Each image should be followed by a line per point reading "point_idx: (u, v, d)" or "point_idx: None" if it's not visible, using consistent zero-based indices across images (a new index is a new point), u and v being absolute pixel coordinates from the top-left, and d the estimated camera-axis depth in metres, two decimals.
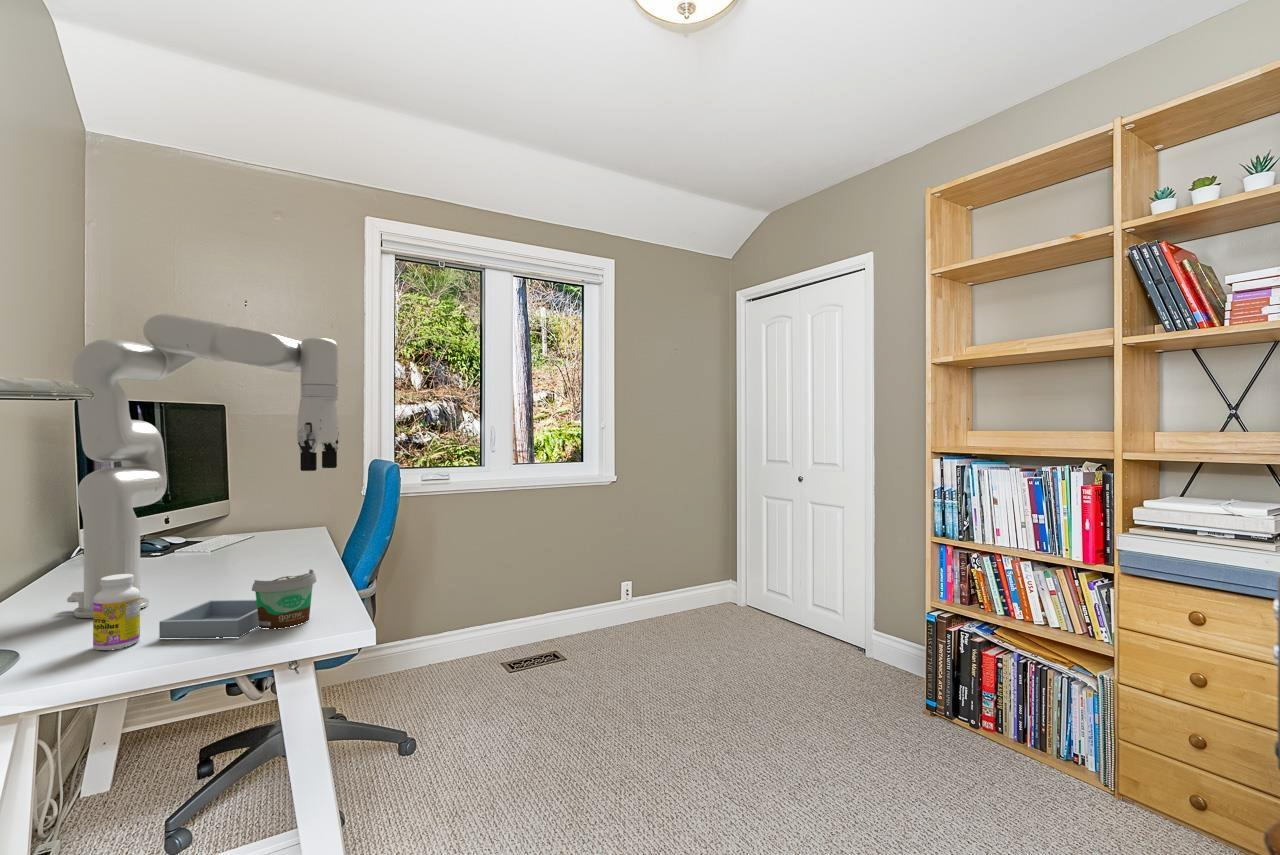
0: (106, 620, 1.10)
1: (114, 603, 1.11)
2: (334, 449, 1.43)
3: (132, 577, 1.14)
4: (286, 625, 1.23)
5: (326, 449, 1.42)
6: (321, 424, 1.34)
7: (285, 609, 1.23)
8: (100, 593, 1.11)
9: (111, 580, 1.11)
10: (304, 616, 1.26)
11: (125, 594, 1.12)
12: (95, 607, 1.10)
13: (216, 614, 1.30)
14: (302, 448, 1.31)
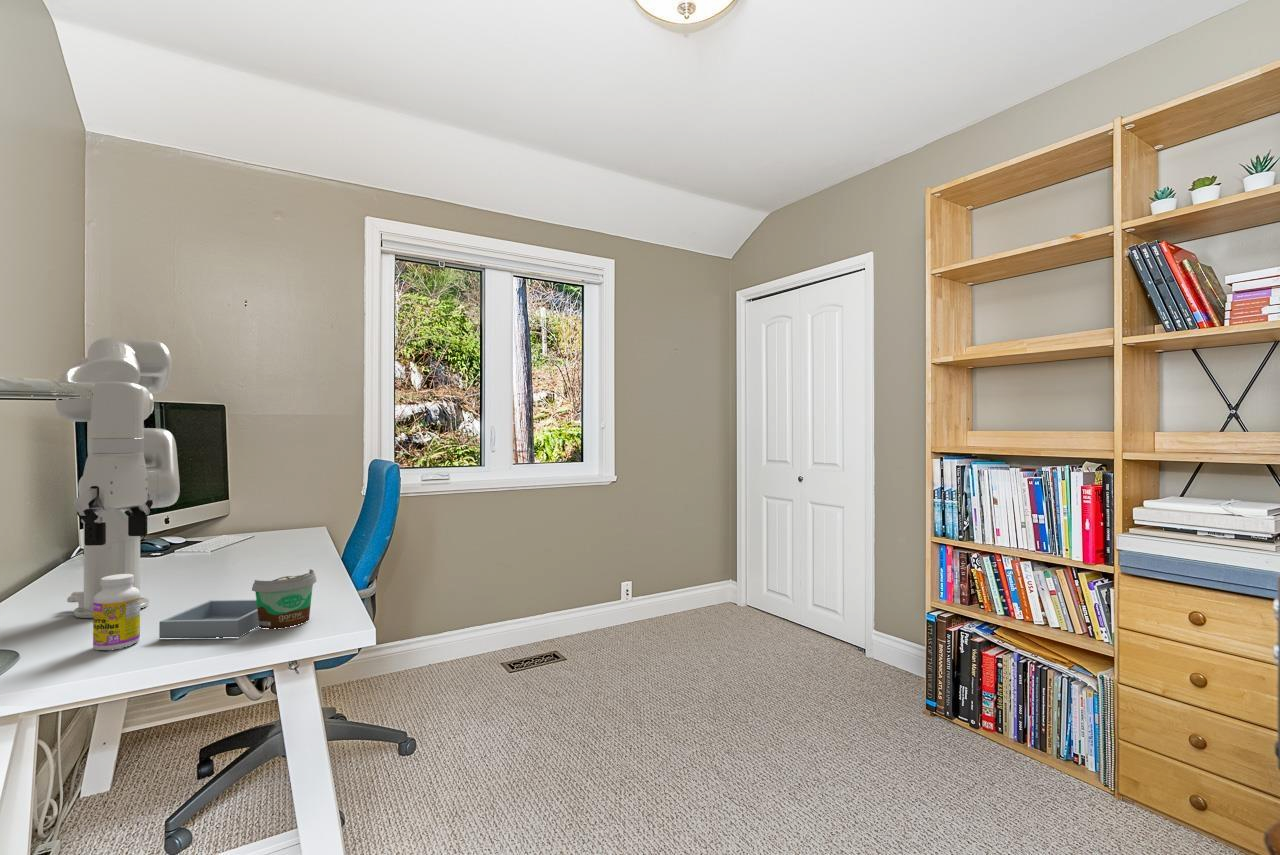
0: (106, 620, 1.10)
1: (114, 603, 1.11)
2: (144, 513, 1.18)
3: (132, 577, 1.14)
4: (286, 625, 1.23)
5: (133, 513, 1.18)
6: (113, 487, 1.10)
7: (285, 609, 1.23)
8: (100, 593, 1.11)
9: (111, 580, 1.11)
10: (304, 616, 1.26)
11: (125, 594, 1.12)
12: (95, 607, 1.10)
13: (216, 614, 1.30)
14: (84, 518, 1.07)
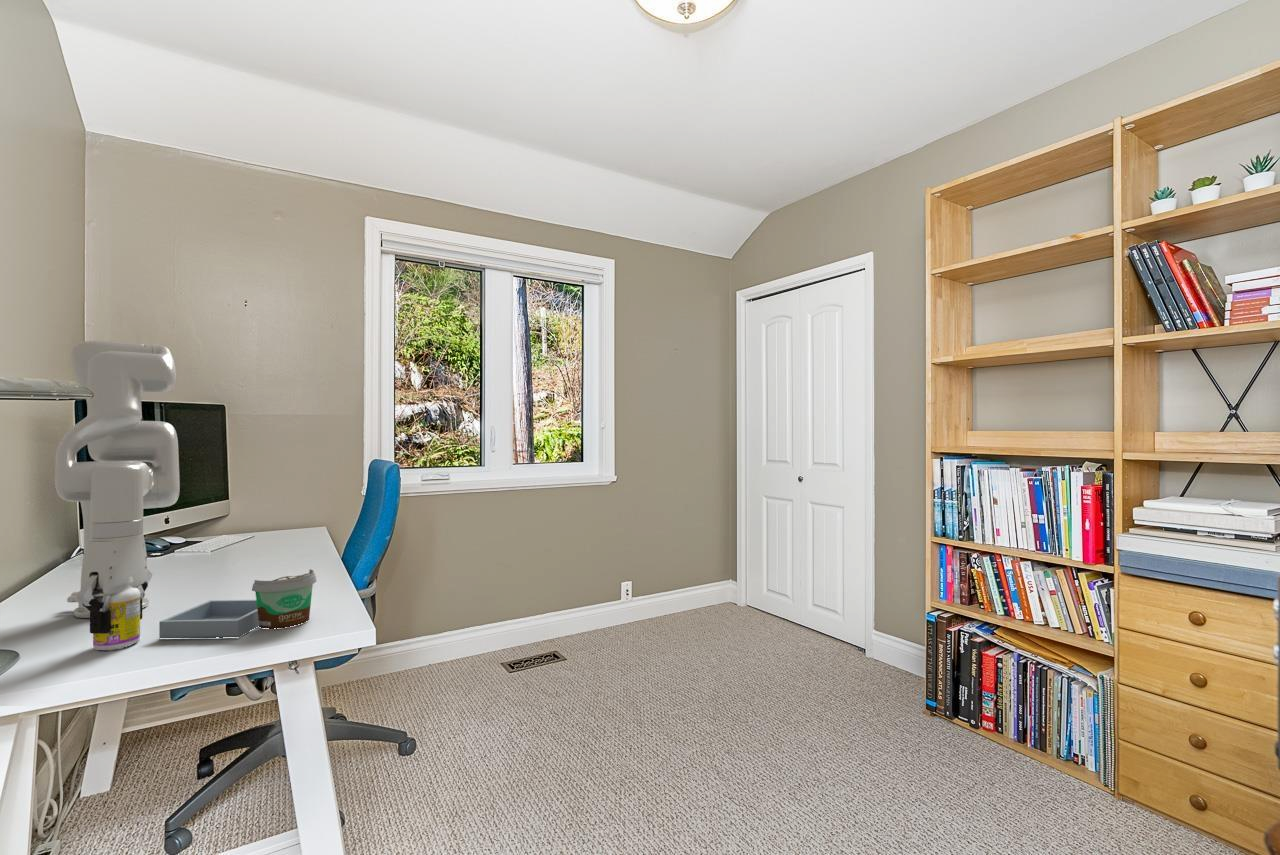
0: None
1: (114, 603, 1.11)
2: None
3: None
4: (286, 625, 1.23)
5: None
6: (112, 572, 1.10)
7: (285, 609, 1.23)
8: None
9: None
10: (304, 616, 1.26)
11: (125, 594, 1.12)
12: None
13: (216, 614, 1.30)
14: (89, 608, 1.08)
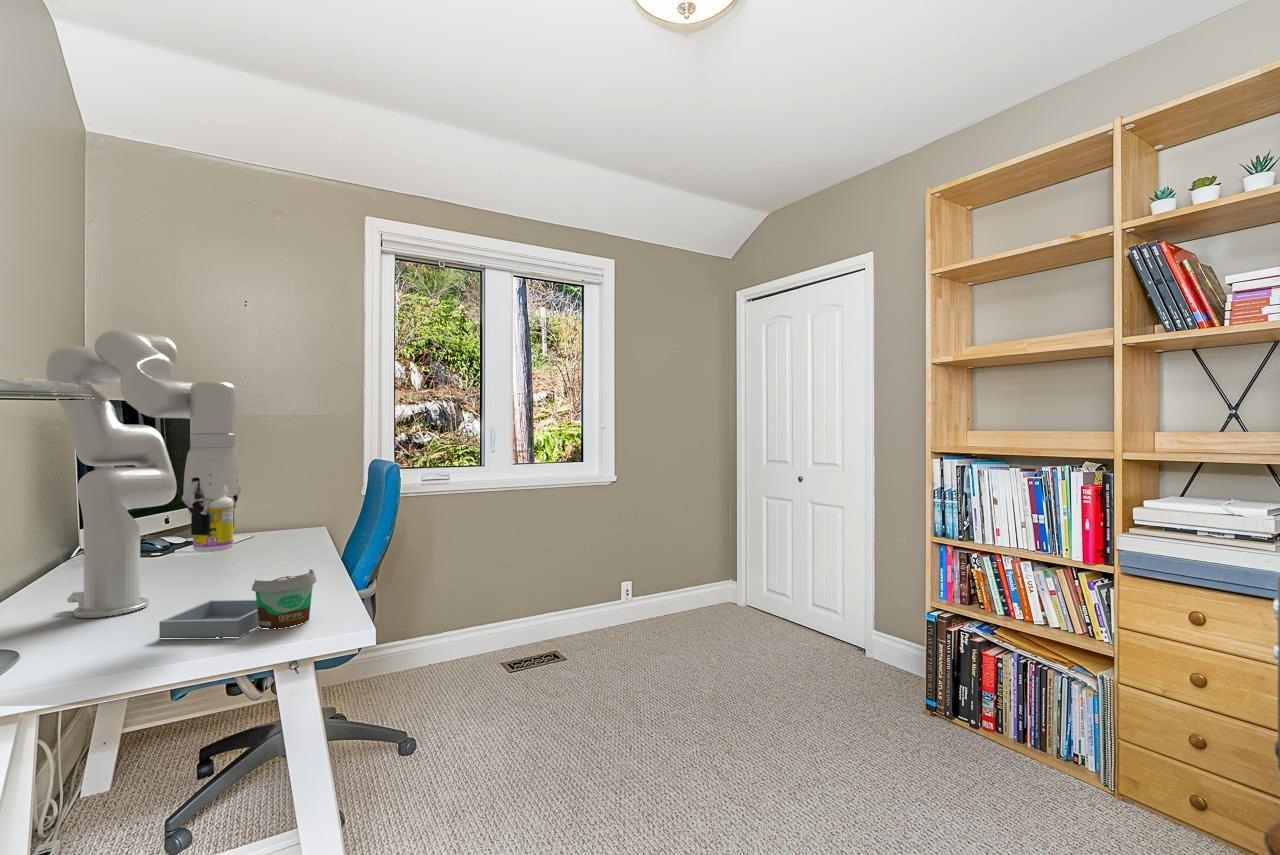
0: None
1: (212, 508, 1.20)
2: None
3: (226, 487, 1.24)
4: (286, 625, 1.23)
5: None
6: (211, 479, 1.19)
7: (285, 609, 1.23)
8: None
9: None
10: (304, 616, 1.26)
11: (221, 501, 1.21)
12: None
13: (216, 614, 1.30)
14: (191, 510, 1.17)
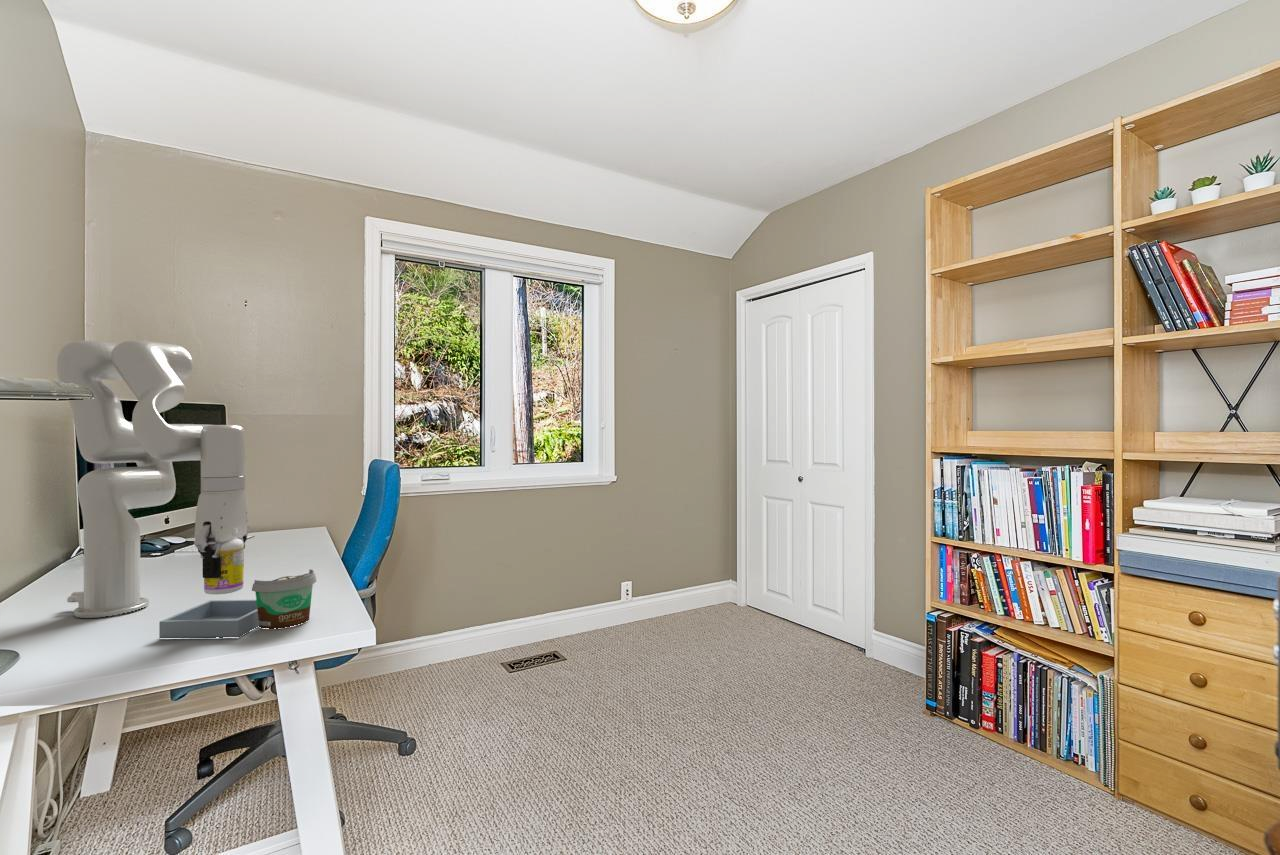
0: None
1: (224, 551, 1.21)
2: None
3: None
4: (286, 625, 1.23)
5: None
6: (222, 522, 1.20)
7: (285, 609, 1.23)
8: None
9: None
10: (304, 616, 1.26)
11: (232, 543, 1.23)
12: None
13: (216, 614, 1.30)
14: (203, 554, 1.18)
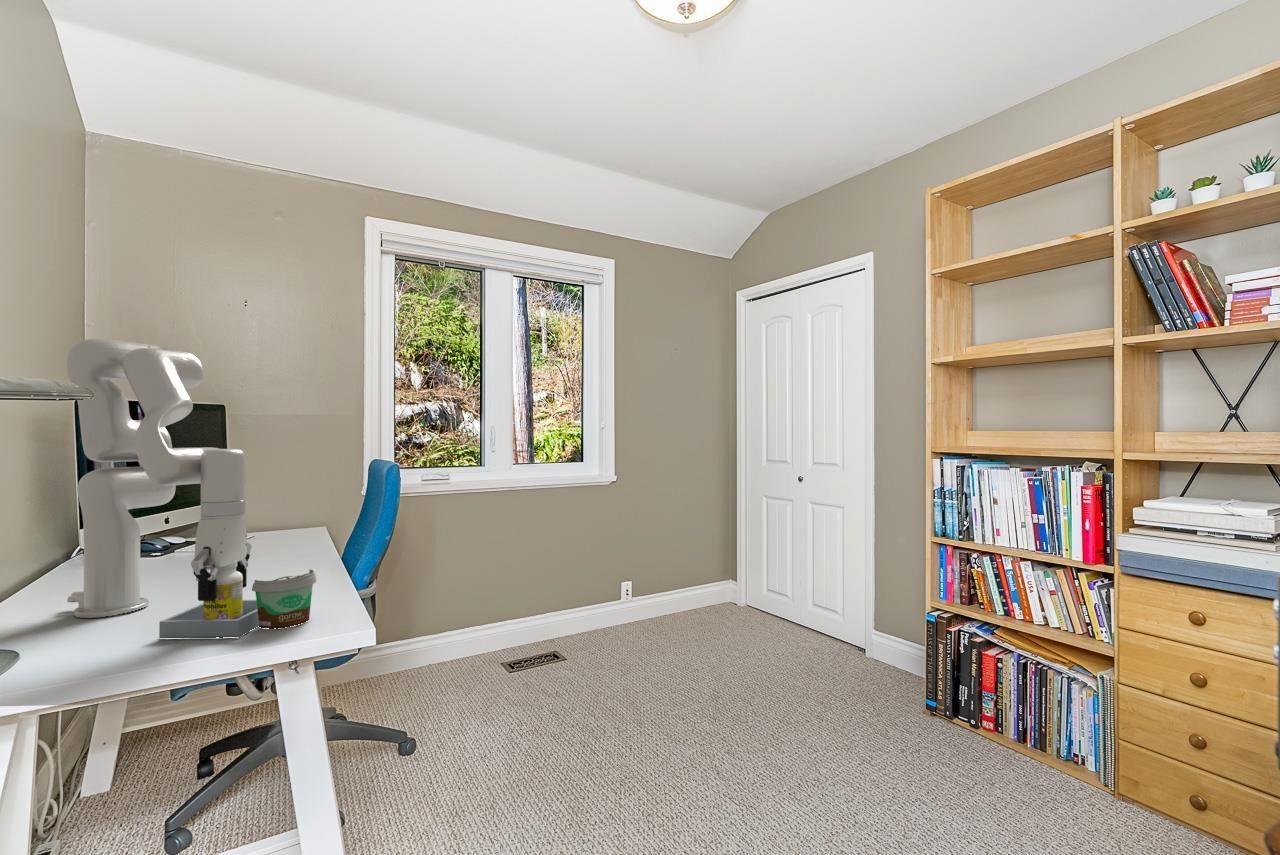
0: (216, 600, 1.21)
1: (223, 585, 1.21)
2: (243, 566, 1.29)
3: (236, 562, 1.25)
4: (286, 625, 1.23)
5: None
6: (222, 547, 1.20)
7: (285, 609, 1.23)
8: None
9: None
10: (304, 616, 1.26)
11: (231, 577, 1.23)
12: None
13: None
14: (198, 577, 1.17)
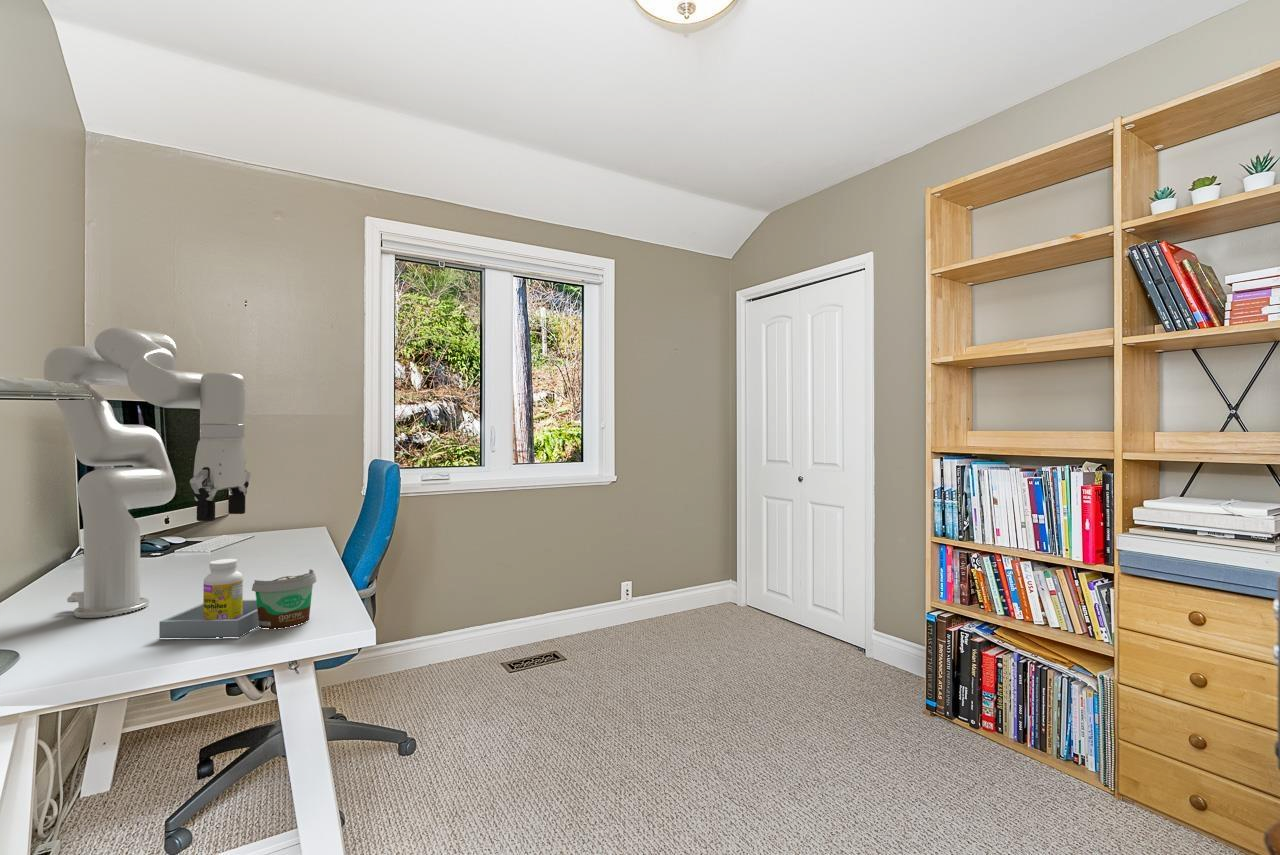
0: (216, 600, 1.21)
1: (223, 585, 1.22)
2: (242, 493, 1.29)
3: (236, 562, 1.25)
4: (286, 625, 1.23)
5: (233, 493, 1.29)
6: (221, 469, 1.21)
7: (285, 609, 1.23)
8: (209, 576, 1.22)
9: (219, 564, 1.22)
10: (304, 616, 1.26)
11: (231, 577, 1.23)
12: (206, 588, 1.21)
13: None
14: (197, 496, 1.18)
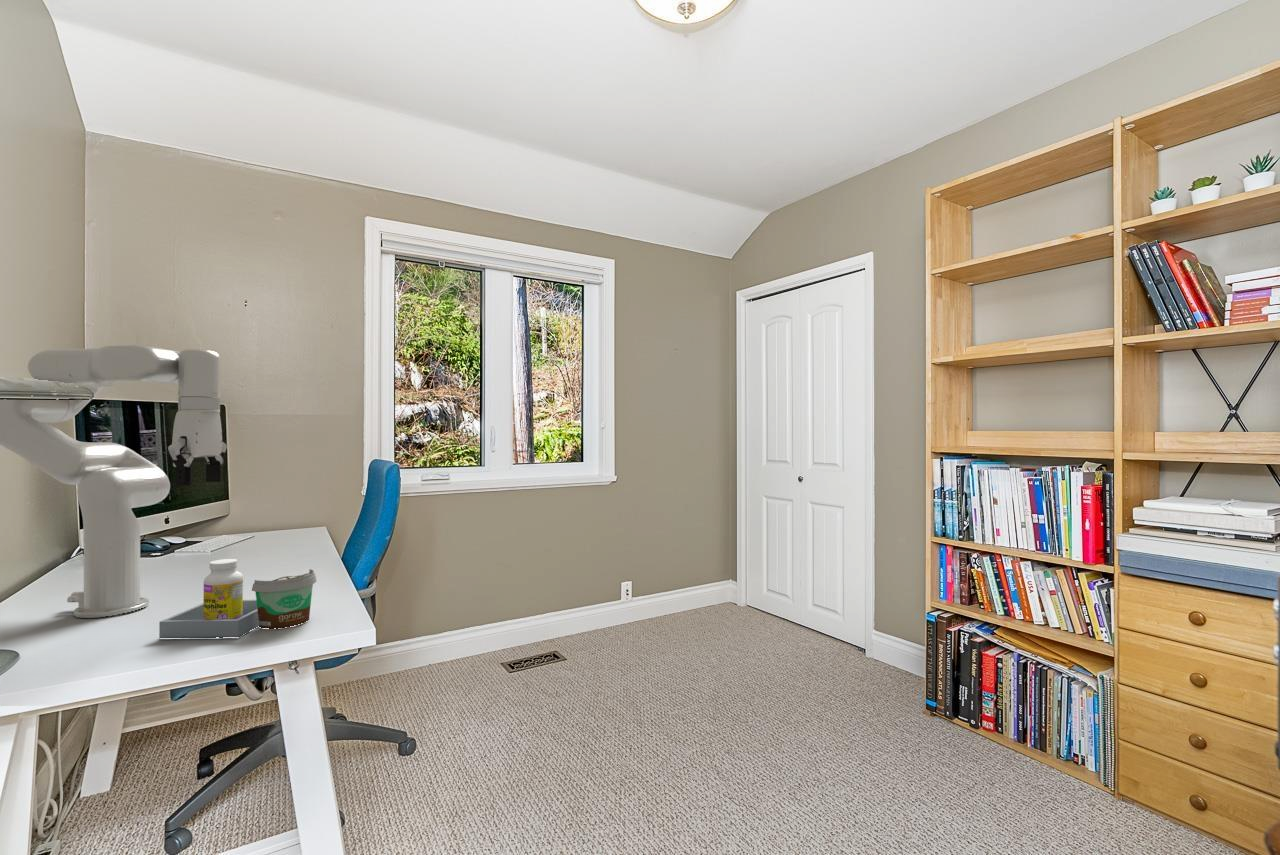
0: (216, 600, 1.21)
1: (223, 585, 1.21)
2: (219, 462, 1.40)
3: (236, 562, 1.25)
4: (286, 625, 1.23)
5: (210, 462, 1.39)
6: (198, 438, 1.31)
7: (285, 609, 1.23)
8: (210, 576, 1.22)
9: (220, 564, 1.22)
10: (304, 616, 1.26)
11: (231, 577, 1.23)
12: (206, 588, 1.21)
13: None
14: (175, 462, 1.28)
